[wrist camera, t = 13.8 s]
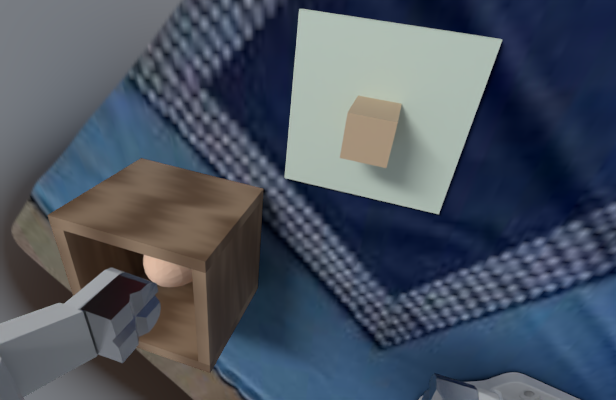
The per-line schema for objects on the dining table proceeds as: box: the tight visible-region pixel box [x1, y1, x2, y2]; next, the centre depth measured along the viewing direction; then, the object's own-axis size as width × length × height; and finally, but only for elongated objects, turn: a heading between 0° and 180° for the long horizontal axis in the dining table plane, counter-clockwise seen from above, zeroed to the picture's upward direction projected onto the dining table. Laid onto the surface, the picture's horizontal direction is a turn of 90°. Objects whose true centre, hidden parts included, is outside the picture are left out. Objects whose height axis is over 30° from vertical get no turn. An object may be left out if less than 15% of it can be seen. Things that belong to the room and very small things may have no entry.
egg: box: [143, 255, 193, 288], centre depth 33 cm, size 6×6×8 cm
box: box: [48, 158, 264, 373], centre depth 32 cm, size 12×12×10 cm
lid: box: [285, 9, 502, 214], centre depth 25 cm, size 12×12×5 cm
